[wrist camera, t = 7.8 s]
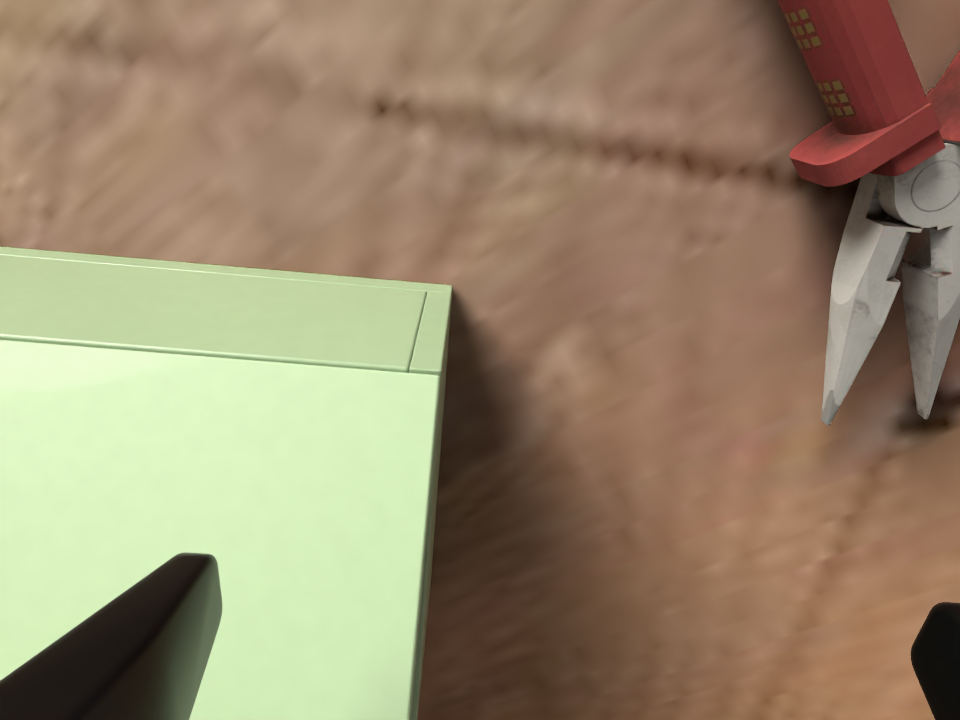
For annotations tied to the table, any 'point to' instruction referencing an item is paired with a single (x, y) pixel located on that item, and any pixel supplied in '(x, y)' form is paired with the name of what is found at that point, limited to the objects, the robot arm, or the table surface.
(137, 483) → the lid
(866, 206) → the pliers
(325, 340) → the box
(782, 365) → the table surface
